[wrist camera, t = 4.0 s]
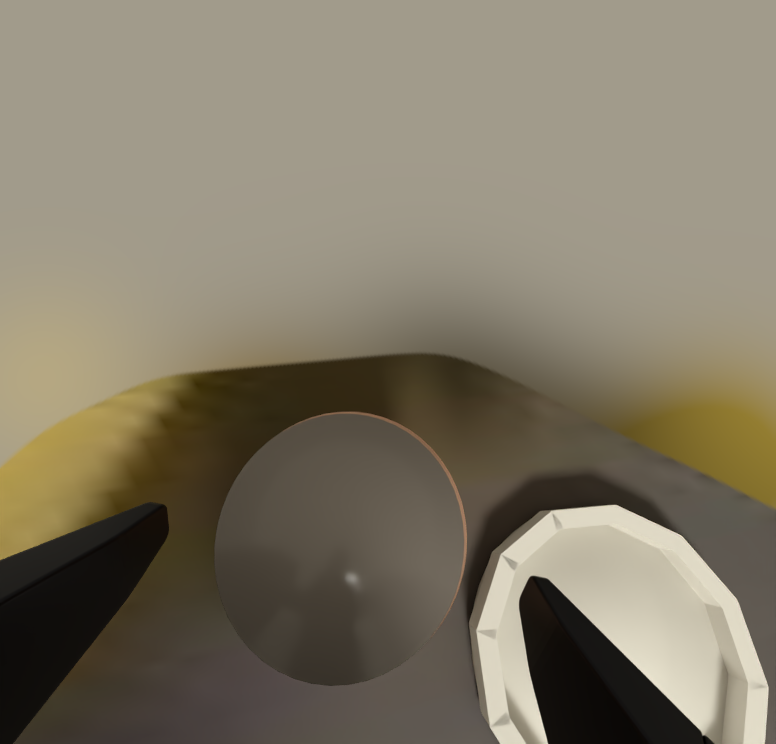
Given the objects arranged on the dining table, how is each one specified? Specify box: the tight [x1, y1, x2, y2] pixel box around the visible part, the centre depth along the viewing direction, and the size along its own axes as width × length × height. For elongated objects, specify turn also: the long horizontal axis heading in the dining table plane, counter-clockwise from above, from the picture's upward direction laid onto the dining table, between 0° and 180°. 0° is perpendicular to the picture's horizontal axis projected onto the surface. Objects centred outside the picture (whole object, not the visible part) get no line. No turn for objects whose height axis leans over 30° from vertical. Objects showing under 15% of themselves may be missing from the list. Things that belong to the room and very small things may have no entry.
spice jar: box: [214, 412, 467, 686], centre depth 12 cm, size 4×4×13 cm
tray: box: [469, 505, 769, 744], centre depth 16 cm, size 12×12×2 cm
